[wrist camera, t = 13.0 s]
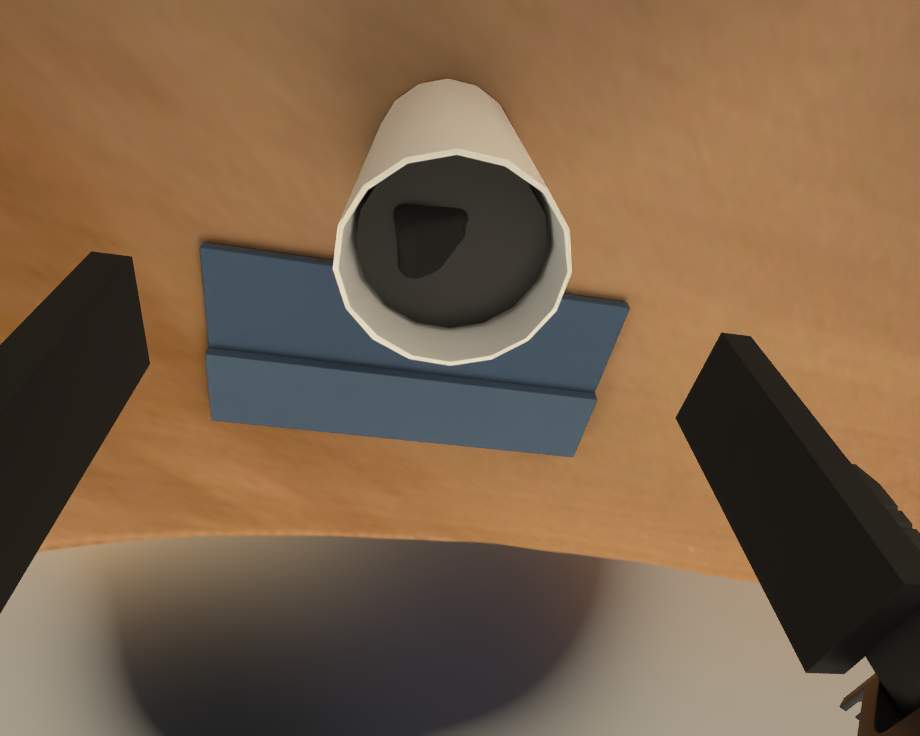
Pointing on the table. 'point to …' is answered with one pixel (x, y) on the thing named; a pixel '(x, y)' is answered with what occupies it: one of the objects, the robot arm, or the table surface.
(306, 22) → the table surface
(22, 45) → the table surface
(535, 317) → the white paper cup
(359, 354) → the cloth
